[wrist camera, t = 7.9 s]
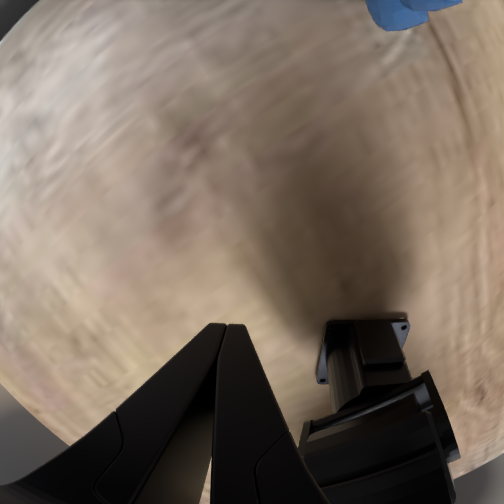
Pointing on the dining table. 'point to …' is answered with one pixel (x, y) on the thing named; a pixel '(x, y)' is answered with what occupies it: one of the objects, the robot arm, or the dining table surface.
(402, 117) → the dining table surface
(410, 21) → the grapes
